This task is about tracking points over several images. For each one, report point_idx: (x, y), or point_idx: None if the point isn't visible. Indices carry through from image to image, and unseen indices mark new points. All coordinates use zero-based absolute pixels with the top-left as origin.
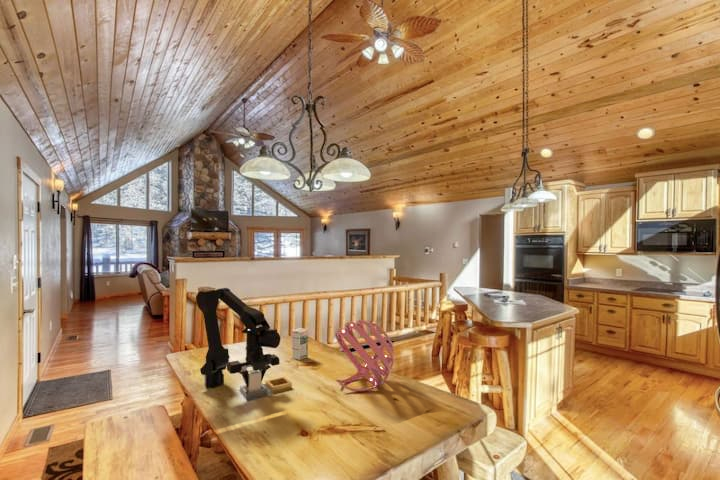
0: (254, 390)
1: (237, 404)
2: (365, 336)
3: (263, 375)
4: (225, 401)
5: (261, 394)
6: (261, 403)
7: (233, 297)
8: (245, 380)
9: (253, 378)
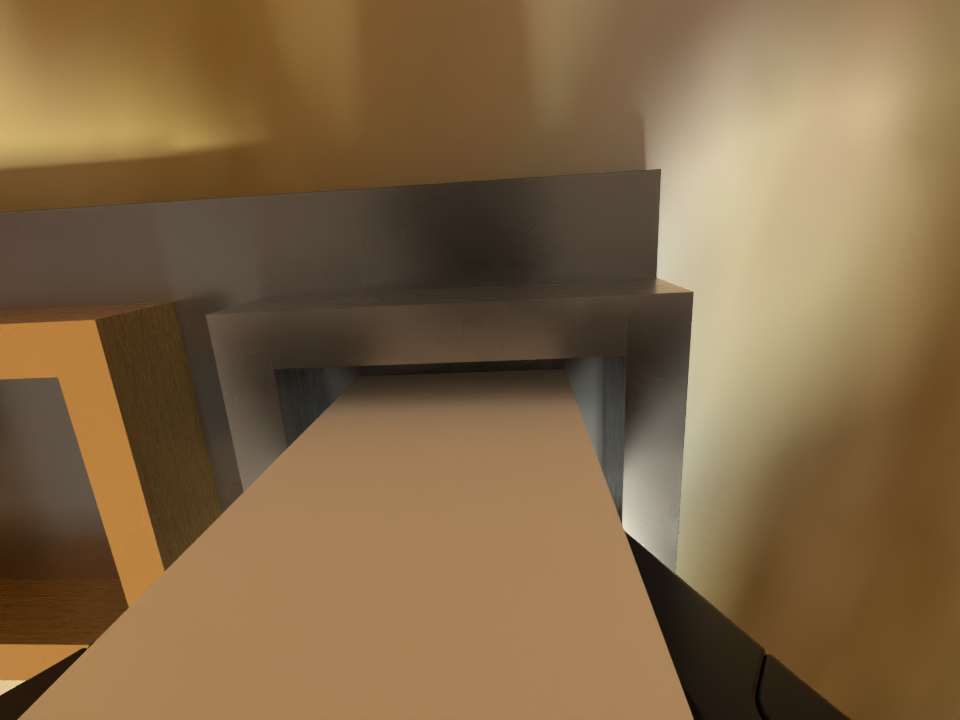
0: (472, 399)
1: (796, 254)
2: None
3: (59, 671)
4: (903, 465)
5: (366, 294)
6: (431, 64)
7: None
8: (759, 645)
9: (478, 590)
